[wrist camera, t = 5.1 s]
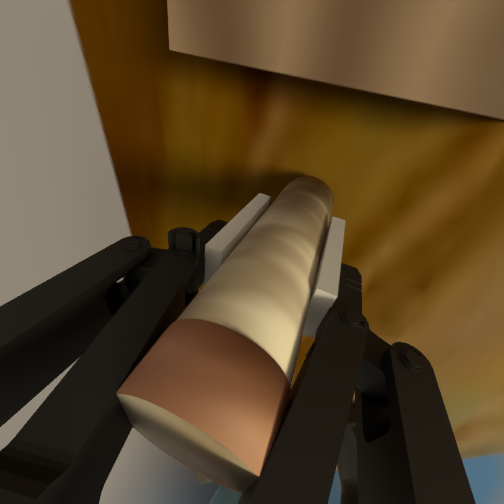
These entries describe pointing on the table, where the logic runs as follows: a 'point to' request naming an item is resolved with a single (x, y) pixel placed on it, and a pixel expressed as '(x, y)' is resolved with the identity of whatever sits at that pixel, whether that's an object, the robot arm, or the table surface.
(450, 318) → the table surface
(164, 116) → the table surface
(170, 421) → the dowel
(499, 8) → the square peg hole block
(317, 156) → the table surface
